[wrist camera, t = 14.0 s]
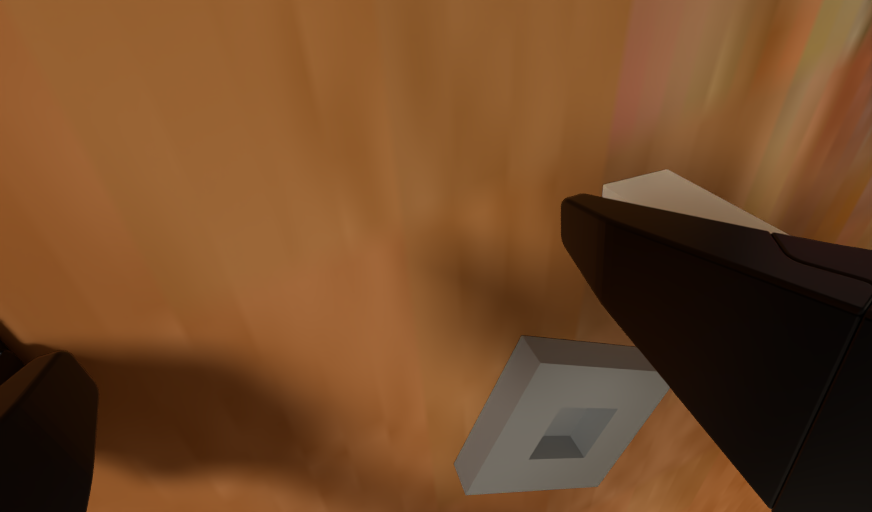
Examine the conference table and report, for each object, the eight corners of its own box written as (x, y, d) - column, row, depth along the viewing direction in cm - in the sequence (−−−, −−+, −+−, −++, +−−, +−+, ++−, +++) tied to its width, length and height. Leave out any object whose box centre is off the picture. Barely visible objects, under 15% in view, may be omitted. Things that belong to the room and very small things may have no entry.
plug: (597, 246, 28) (751, 383, 19) (603, 184, 26) (781, 306, 17) (656, 230, 29) (830, 354, 20) (667, 169, 27) (869, 278, 18)
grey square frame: (453, 463, 35) (465, 495, 33) (521, 335, 30) (540, 363, 28) (580, 459, 40) (597, 486, 38) (656, 348, 35) (680, 373, 33)
